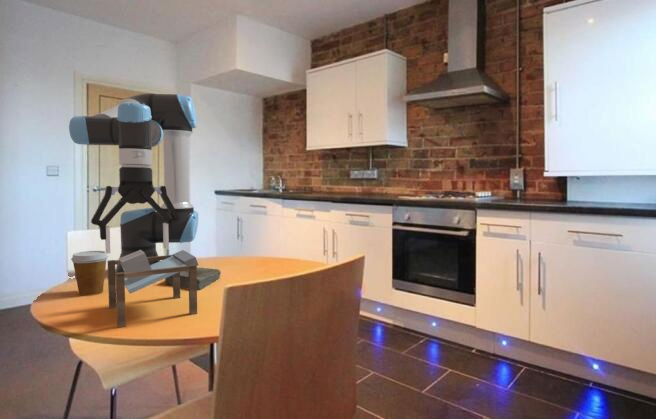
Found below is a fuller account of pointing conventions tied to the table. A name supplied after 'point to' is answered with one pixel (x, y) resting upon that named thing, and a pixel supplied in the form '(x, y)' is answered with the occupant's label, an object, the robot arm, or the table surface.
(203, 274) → the marble piece
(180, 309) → the table surface
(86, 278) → the disposable coffee cup
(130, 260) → the granite block
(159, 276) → the trapdoor
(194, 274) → the walnut frame
